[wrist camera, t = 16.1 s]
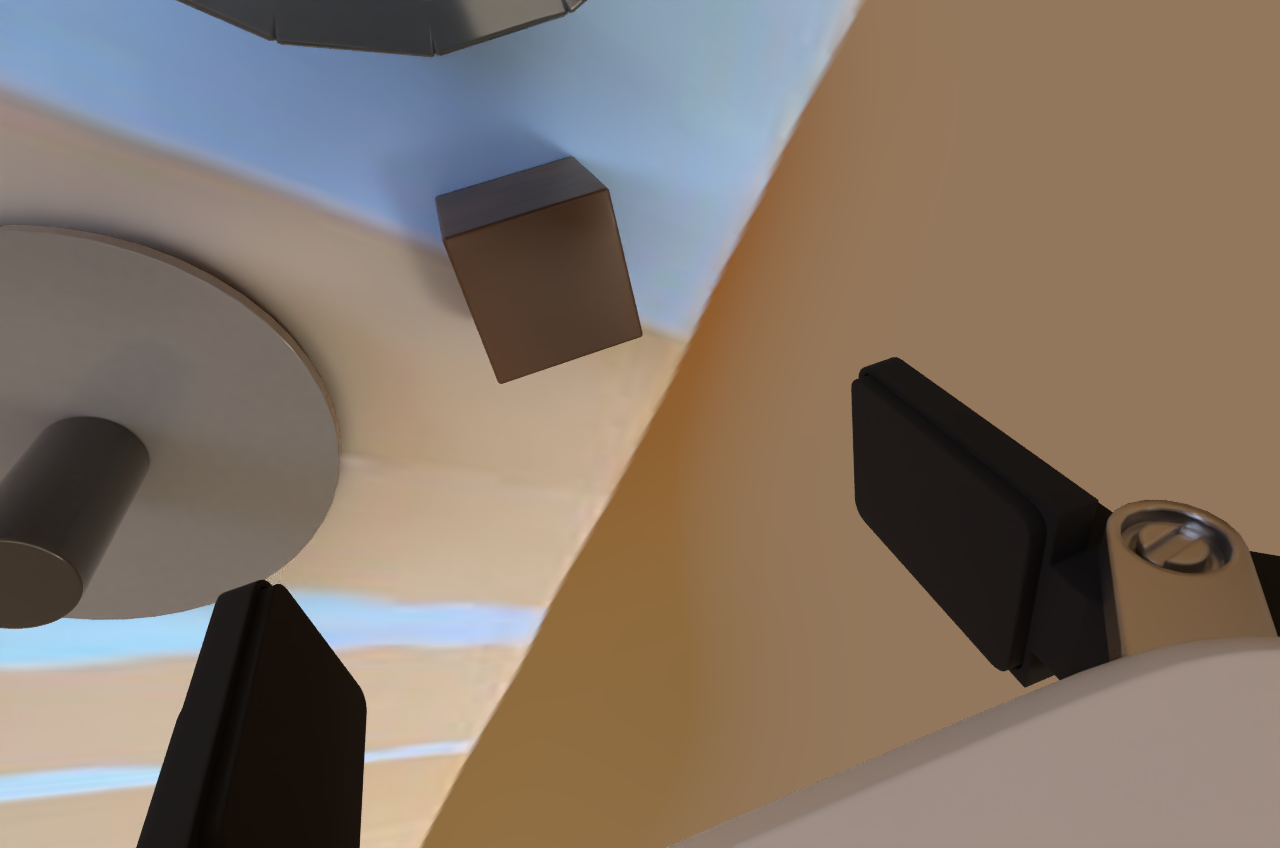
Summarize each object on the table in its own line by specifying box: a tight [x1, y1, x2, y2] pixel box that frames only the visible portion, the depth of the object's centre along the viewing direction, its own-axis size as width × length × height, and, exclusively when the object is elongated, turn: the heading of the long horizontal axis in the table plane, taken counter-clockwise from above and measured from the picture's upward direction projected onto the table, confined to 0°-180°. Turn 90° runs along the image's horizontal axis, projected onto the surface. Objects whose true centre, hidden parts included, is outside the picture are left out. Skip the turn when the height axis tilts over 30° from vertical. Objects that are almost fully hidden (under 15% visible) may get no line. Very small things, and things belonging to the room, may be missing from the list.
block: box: [435, 156, 642, 384], centre depth 20 cm, size 4×4×4 cm
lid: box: [0, 225, 341, 629], centre depth 18 cm, size 13×13×7 cm
